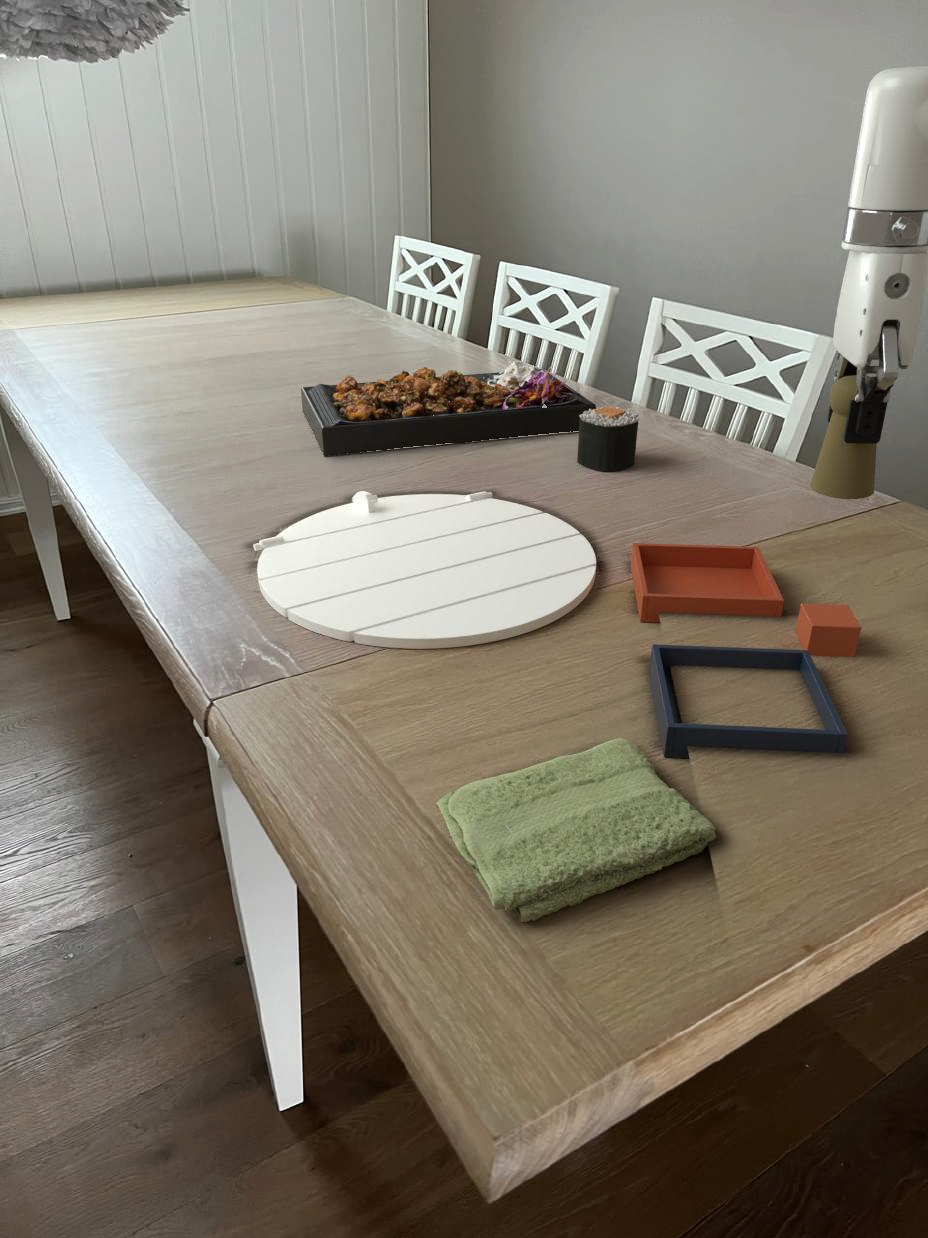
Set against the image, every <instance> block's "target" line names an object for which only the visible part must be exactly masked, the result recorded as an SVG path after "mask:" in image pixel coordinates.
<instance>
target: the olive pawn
mask: <svg viewBox="0 0 928 1238" xmlns="http://www.w3.org/2000/svg"><path fill="white" fill-rule="evenodd" d="M856 377H857V375H854V376H845V377H842V378H840V379H838V380H837V381H836V382H835V381H834V382H833V383H834V384H832V385H831V388H830V390H829V398H828V400H829V407H830V406H831V408H832V410H833V413H832V416H831V419H830V423H829V422H828V426H827V429H826V432H825V436H824V438H823V442H822V445H821V449H820V451H819V455H818V458H817V461H816V465H815V466H814V467H815V468H814V471H813V473H812V477H811V480H810V483H809V487H810V489H811V490H812V491H814V492H815V493H817V494H819V495H821V496H825V497H829V498H833V499H841V500H859V499H866V498H868V497H872V495H874V494H875V481H876V480H875V479H876V464H877V462H876V461H877V445H878V443H876V444H864V443H846V442H845V441H844V439H843V437H844V431H845V426H846V420H847V415H848V409H849V404H850V400H855V389H856ZM871 377H872V376H870V375H867V377H866V384H867V383H868V381H869V379H870V378H871Z"/></svg>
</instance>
